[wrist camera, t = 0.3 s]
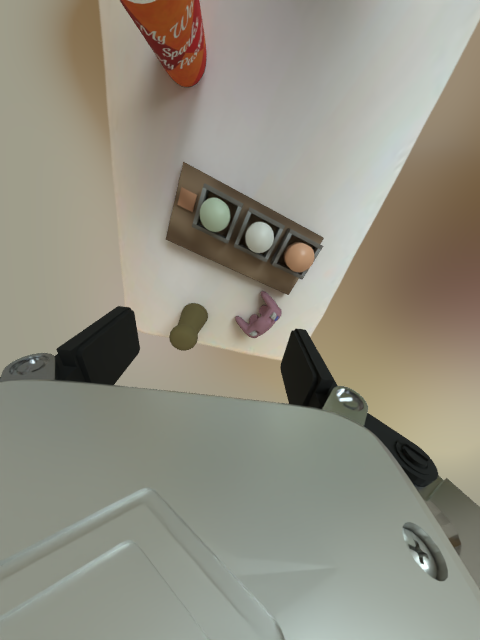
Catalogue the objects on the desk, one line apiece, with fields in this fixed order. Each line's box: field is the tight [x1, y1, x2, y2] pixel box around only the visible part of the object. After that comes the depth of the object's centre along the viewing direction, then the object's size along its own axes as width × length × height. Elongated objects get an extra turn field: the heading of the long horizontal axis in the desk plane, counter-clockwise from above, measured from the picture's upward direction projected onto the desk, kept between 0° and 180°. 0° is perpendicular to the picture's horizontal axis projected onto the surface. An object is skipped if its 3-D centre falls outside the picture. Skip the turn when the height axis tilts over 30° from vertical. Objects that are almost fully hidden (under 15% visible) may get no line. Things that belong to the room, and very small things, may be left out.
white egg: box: [245, 222, 274, 253], centre depth 30 cm, size 4×4×3 cm
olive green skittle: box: [169, 303, 208, 350], centre depth 39 cm, size 6×6×11 cm
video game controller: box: [235, 291, 281, 338], centre depth 41 cm, size 10×5×7 cm, turn 138°
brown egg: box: [284, 242, 314, 272], centre depth 31 cm, size 4×4×3 cm
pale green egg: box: [200, 198, 231, 232], centre depth 29 cm, size 4×4×3 cm
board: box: [166, 162, 324, 295], centre depth 33 cm, size 12×26×4 cm, turn 66°
